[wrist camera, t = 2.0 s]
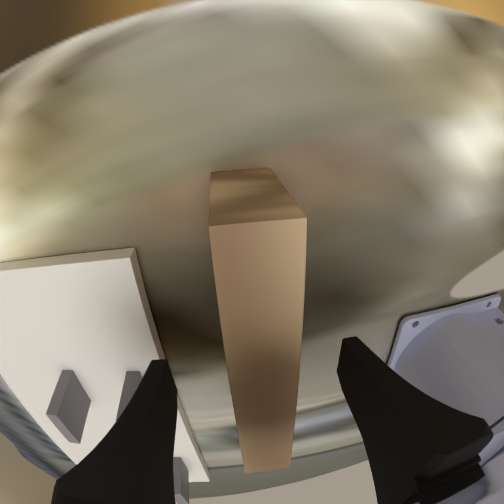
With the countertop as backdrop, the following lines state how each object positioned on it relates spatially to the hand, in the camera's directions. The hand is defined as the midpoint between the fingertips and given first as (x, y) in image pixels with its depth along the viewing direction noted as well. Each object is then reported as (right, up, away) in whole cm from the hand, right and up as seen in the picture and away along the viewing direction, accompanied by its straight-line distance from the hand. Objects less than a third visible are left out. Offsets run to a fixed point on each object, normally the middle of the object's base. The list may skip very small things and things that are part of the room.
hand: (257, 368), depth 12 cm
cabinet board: (-11, -6, +6) cm, 15 cm away
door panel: (0, +2, +4) cm, 4 cm away
